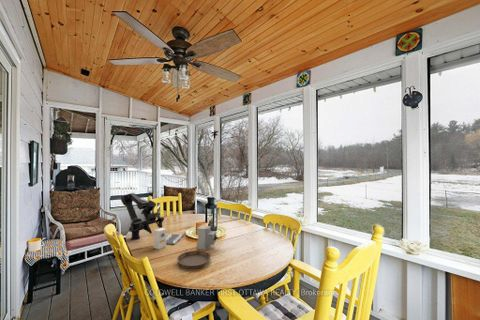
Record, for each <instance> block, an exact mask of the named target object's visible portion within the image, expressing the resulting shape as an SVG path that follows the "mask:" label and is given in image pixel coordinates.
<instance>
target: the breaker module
mask: <svg viewBox="0 0 480 320" xmlns="http://www.w3.org/2000/svg"><path fill="white" fill-rule="evenodd" d="M166 237H167V228H164V227H162V228H159V227H158V228H156V229H153V244H152V245H153V249H157V250H161V249H164V248H166V247H167V244H166Z"/></svg>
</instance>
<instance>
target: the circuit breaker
mask: <svg viewBox="0 0 480 320" xmlns="http://www.w3.org/2000/svg"><path fill="white" fill-rule="evenodd" d="M196 229H197V230H196V235H197V241H196V249H197V250H206V251H207V250H208V249H209V248H211V246H215V245H214V244H215V243H216V242H217V239H218V236H217V231H215V230H213V231H212V226H211V225H200V226H198V227H197V228H196Z"/></svg>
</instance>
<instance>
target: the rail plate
mask: <svg viewBox="0 0 480 320" xmlns="http://www.w3.org/2000/svg"><path fill="white" fill-rule="evenodd" d="M184 236H185V235H184V233H179V234H173V232H171V233H169V234H168V235H166V245H173V246H175V245H176V244H177V243H178V242H179V241H180V240H182V239H183V237H184Z"/></svg>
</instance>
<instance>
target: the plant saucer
mask: <svg viewBox="0 0 480 320" xmlns="http://www.w3.org/2000/svg"><path fill="white" fill-rule="evenodd" d="M210 260H211V255H210V253H208V252H207V251H203V250H190V251H186V252H183V253H181V254H180V255H178V256H177V260H176V261H177V263H178V264H179V265H180V266H181V267H183V268H185V269H198V268H202V267H204V266H206V265H207V264H208V263H209V261H210Z"/></svg>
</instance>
